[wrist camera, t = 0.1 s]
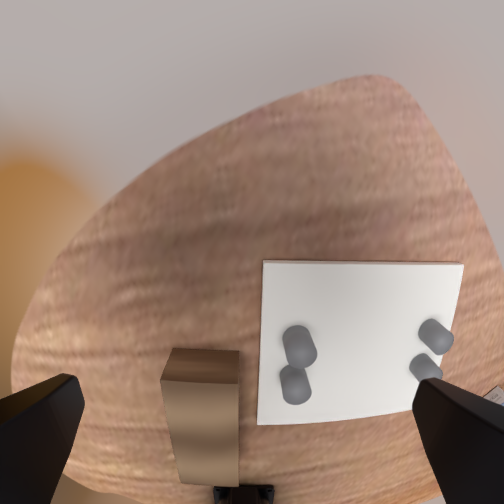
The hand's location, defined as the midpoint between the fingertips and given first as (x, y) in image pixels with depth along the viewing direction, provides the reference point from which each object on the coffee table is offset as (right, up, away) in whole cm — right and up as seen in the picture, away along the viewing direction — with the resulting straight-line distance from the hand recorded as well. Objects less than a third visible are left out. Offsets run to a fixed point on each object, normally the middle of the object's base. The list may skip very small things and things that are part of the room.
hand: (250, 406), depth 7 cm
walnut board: (-4, -9, +17) cm, 20 cm away
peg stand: (+9, -4, +16) cm, 18 cm away
